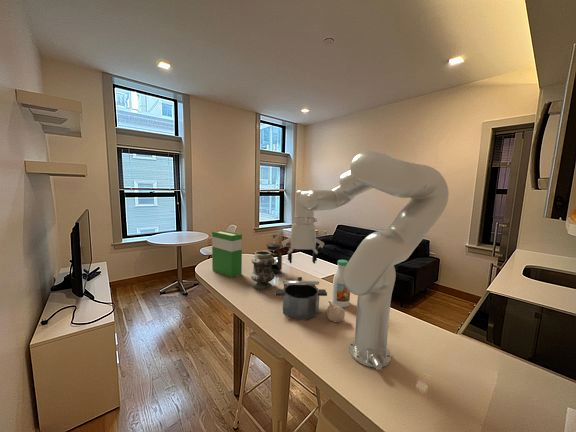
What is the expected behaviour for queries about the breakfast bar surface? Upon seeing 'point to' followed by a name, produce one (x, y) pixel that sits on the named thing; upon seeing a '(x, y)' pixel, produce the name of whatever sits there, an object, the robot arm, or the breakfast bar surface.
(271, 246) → the french press
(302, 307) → the cooker pot
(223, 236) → the green tissue carton
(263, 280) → the grey rounded vessel
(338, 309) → the garlic bulb
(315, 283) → the cooker lid
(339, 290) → the milk bottle
